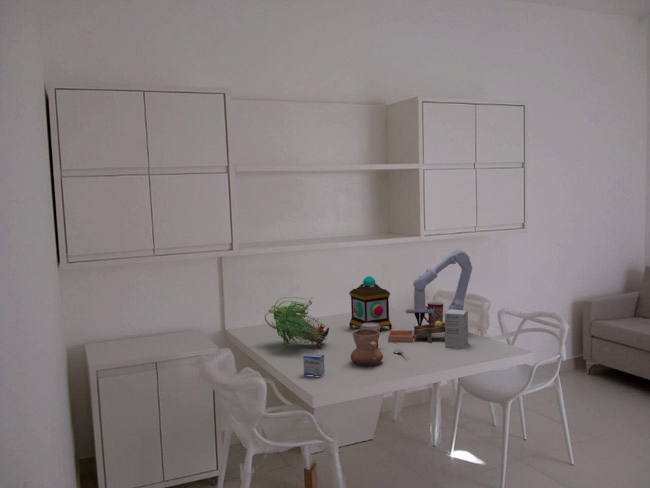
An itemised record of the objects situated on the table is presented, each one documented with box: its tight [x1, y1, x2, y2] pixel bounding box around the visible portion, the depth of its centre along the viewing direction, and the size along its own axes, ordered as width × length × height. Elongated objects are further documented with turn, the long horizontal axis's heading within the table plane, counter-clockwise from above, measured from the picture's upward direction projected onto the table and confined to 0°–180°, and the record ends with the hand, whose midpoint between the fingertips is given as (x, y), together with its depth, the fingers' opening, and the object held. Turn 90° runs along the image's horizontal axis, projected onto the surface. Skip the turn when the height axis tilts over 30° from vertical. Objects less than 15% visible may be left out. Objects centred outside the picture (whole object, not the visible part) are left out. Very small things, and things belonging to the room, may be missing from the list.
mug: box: [423, 300, 445, 325], centre depth 311 cm, size 13×9×14 cm
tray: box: [387, 329, 414, 343], centre depth 288 cm, size 12×12×3 cm
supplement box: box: [444, 308, 469, 350], centre depth 272 cm, size 10×9×17 cm
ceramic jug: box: [350, 328, 384, 366], centre depth 250 cm, size 18×14×14 cm
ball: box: [435, 321, 443, 328], centre depth 284 cm, size 4×4×4 cm
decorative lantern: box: [348, 275, 393, 331], centre depth 310 cm, size 20×20×30 cm
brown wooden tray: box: [413, 322, 445, 337], centre depth 288 cm, size 16×16×3 cm
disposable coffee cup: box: [360, 323, 381, 350], centre depth 271 cm, size 10×10×12 cm
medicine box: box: [302, 353, 326, 377], centre depth 235 cm, size 8×4×9 cm, turn 69°
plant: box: [264, 296, 330, 352], centre depth 281 cm, size 30×30×35 cm
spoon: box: [393, 347, 411, 360], centre depth 257 cm, size 4×21×2 cm, turn 13°
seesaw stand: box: [426, 333, 433, 344], centre depth 285 cm, size 2×13×5 cm, turn 170°
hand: (419, 326), depth 294 cm, fingers closed, pressing on brown wooden tray
